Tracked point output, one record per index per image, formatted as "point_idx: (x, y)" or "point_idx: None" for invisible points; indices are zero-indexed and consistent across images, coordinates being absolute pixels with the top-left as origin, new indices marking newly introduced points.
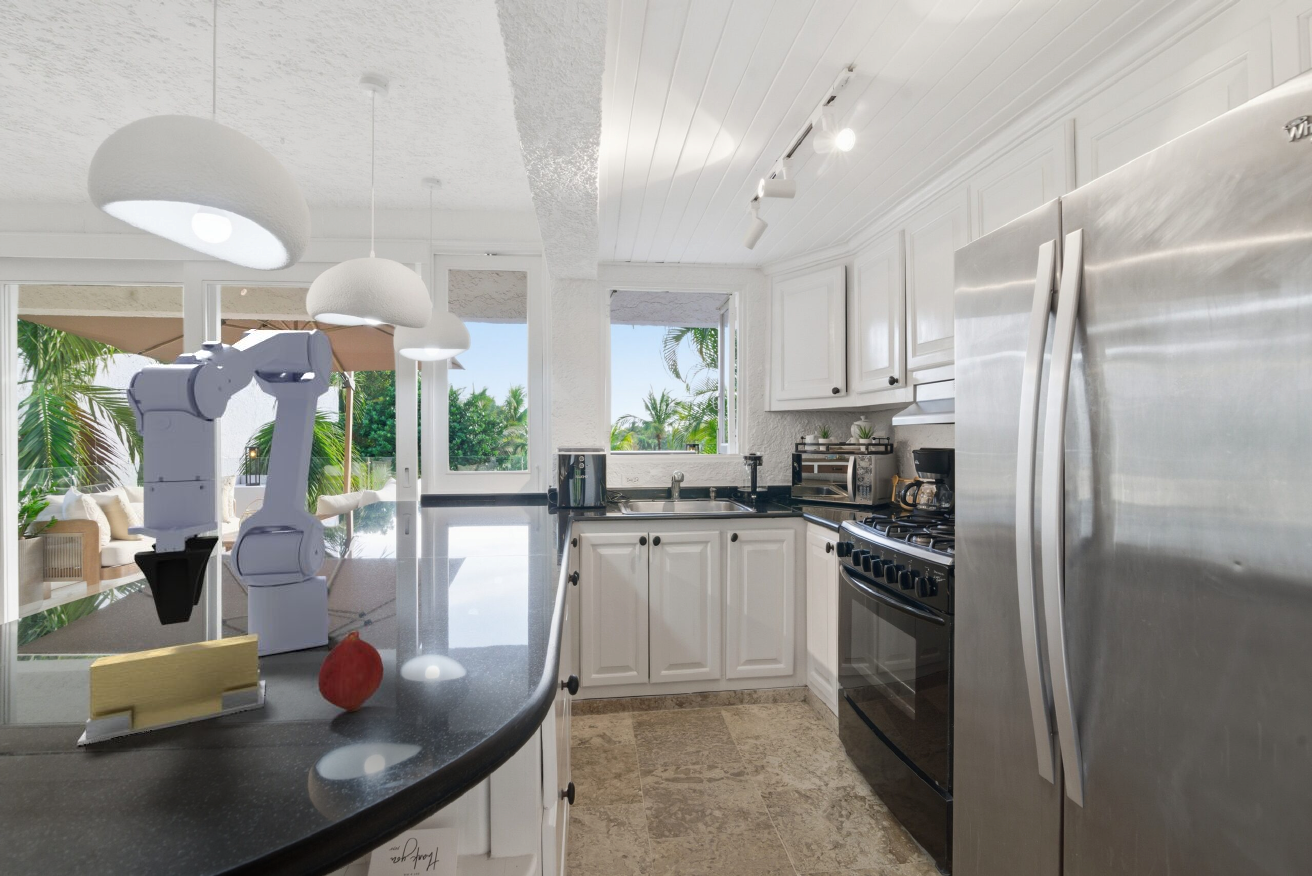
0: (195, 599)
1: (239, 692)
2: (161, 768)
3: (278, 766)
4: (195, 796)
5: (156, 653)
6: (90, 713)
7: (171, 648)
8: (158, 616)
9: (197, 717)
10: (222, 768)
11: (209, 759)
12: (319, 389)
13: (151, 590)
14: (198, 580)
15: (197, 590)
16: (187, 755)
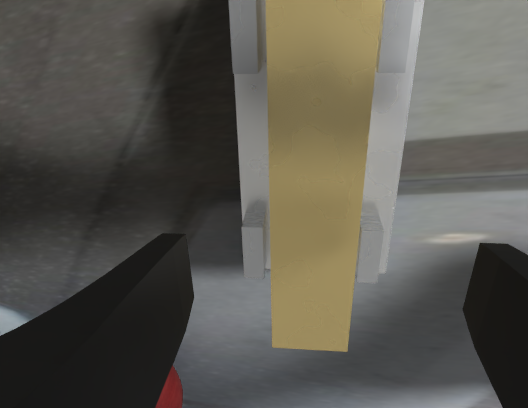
0: (471, 323)
1: (243, 252)
2: (52, 142)
3: (4, 271)
4: None
5: (308, 152)
6: None
7: (342, 183)
8: (148, 244)
9: (240, 176)
10: (21, 215)
11: (59, 199)
12: None
13: (54, 308)
14: (511, 404)
15: (489, 359)
16: (87, 171)
